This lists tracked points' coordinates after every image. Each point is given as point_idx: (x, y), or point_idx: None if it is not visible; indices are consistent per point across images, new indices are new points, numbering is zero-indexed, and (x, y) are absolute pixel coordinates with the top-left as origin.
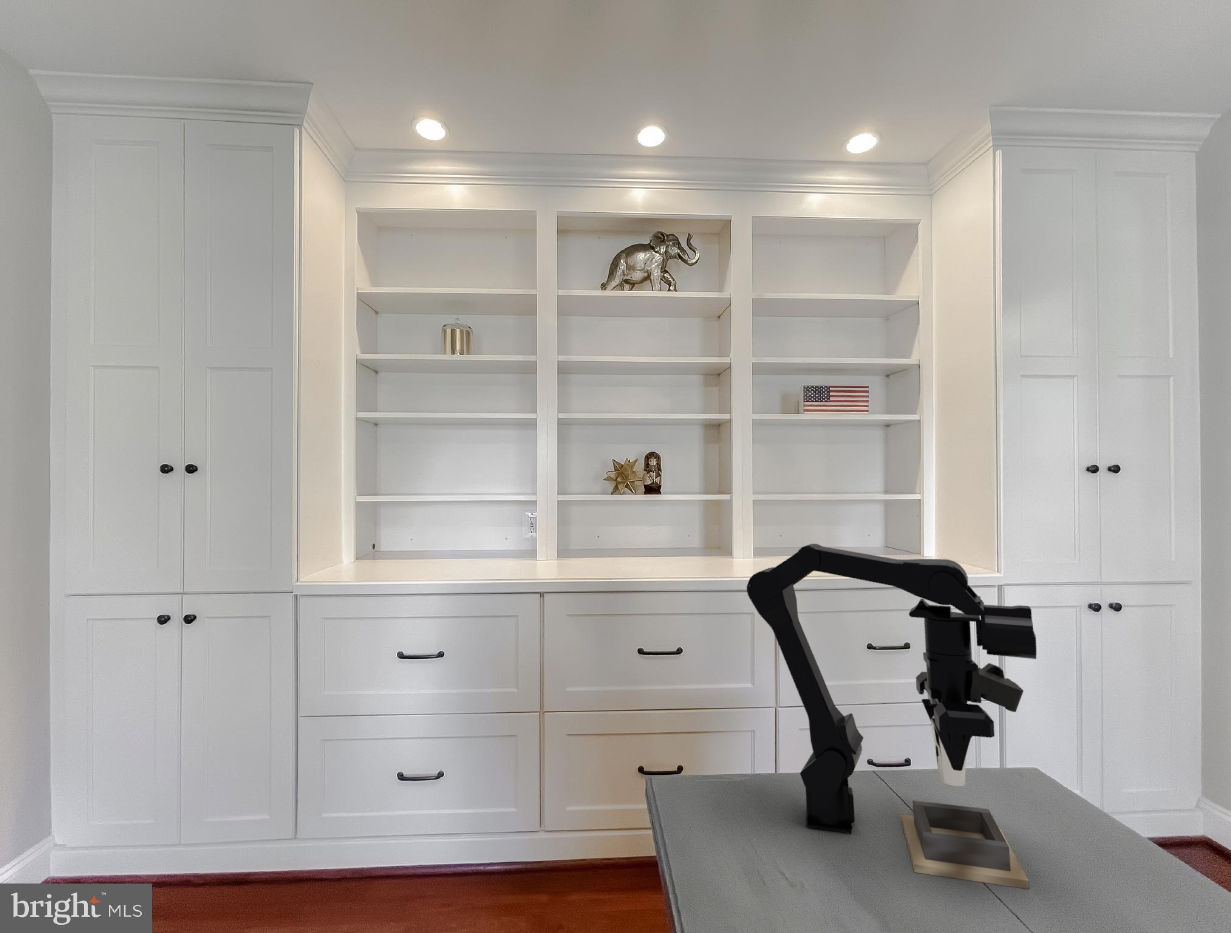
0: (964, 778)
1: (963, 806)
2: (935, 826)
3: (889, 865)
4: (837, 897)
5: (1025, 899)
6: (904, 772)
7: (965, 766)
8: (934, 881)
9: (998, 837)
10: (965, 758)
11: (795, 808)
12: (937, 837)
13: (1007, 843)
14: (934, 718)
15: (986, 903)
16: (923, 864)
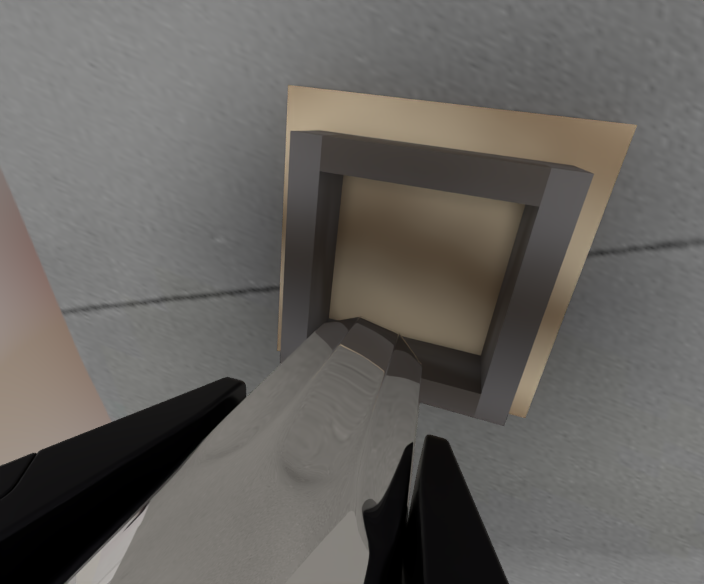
0: (395, 353)
1: (288, 219)
2: (329, 292)
3: (491, 443)
4: (618, 580)
5: (682, 164)
6: (34, 238)
7: (382, 389)
8: (565, 376)
9: (511, 184)
10: (370, 429)
11: None
12: (512, 392)
13: (396, 101)
14: None
15: (687, 291)
16: (525, 396)
